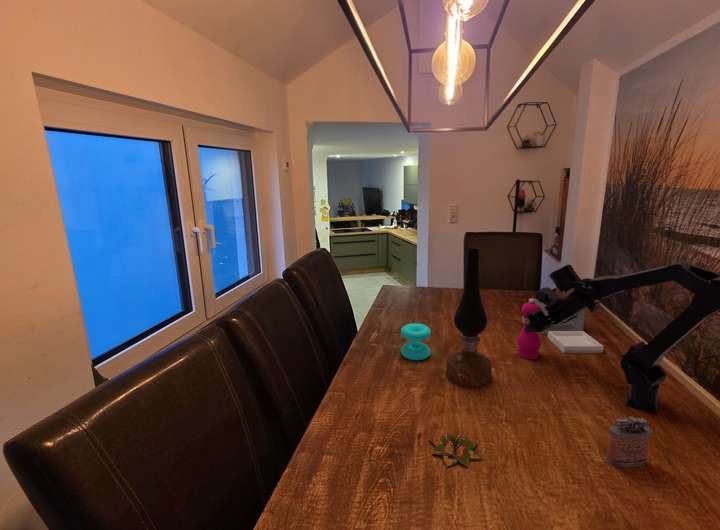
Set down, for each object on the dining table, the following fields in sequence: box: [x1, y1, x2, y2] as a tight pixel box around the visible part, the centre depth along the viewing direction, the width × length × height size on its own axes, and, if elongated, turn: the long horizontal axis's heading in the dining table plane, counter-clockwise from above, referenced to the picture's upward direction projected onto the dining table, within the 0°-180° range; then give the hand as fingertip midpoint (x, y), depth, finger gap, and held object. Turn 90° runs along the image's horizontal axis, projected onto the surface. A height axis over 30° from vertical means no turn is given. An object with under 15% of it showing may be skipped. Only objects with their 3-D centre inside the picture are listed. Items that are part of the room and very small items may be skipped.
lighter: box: [605, 415, 653, 468], centre depth 76 cm, size 8×3×10 cm, turn 92°
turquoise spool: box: [400, 323, 432, 361], centre depth 126 cm, size 10×10×10 cm
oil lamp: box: [444, 248, 493, 389], centre depth 112 cm, size 14×15×40 cm
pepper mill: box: [516, 297, 542, 360], centre depth 122 cm, size 7×7×20 cm
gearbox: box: [527, 298, 586, 335], centre depth 144 cm, size 12×16×13 cm
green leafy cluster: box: [433, 428, 485, 469], centre depth 82 cm, size 12×12×5 cm
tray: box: [547, 330, 604, 354], centre depth 130 cm, size 13×13×2 cm
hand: (534, 327), depth 120 cm, fingers open, 9 cm apart
